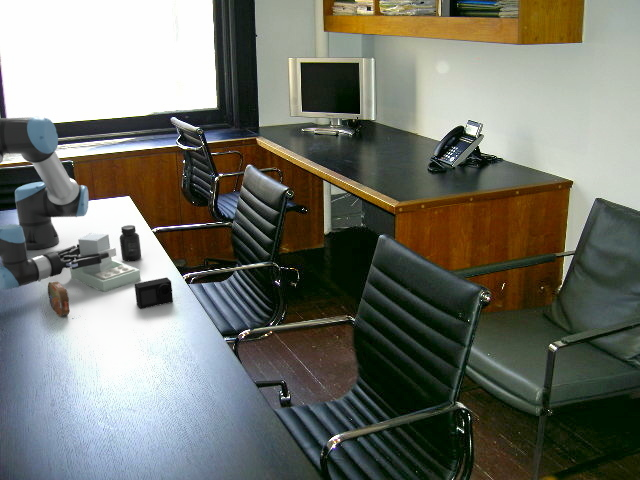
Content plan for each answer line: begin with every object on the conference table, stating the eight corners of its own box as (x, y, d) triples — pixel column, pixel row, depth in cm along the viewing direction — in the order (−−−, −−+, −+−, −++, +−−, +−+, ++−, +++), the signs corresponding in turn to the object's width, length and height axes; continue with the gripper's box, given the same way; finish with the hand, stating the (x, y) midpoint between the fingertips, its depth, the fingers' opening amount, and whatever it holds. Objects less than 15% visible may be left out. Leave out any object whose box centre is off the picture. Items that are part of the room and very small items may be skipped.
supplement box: (113, 269, 268) (109, 233, 264) (101, 276, 262) (96, 240, 258) (95, 267, 271) (90, 232, 267) (82, 274, 264) (77, 238, 260)
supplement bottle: (144, 255, 285) (140, 224, 281) (138, 262, 278) (134, 230, 275) (125, 255, 286) (122, 224, 282) (119, 262, 279) (115, 229, 275)
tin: (48, 304, 244) (44, 279, 241) (58, 302, 246) (55, 276, 243) (62, 320, 232) (58, 294, 229) (72, 318, 234) (69, 291, 231)
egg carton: (96, 283, 258) (94, 271, 256) (124, 274, 265) (123, 262, 264) (106, 288, 254) (104, 275, 253) (134, 278, 261) (133, 266, 260)
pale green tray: (71, 277, 265) (70, 267, 264) (107, 266, 275) (106, 257, 274) (103, 292, 252) (102, 281, 251) (140, 279, 262) (139, 269, 261)
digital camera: (141, 310, 238) (139, 289, 235) (136, 304, 242) (134, 283, 240) (174, 303, 242) (172, 282, 240) (168, 297, 247) (167, 276, 244)
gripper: (30, 269, 260) (90, 252, 275) (65, 285, 246) (126, 265, 261) (27, 248, 258) (88, 231, 273) (62, 262, 243) (124, 244, 259)
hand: (107, 248), depth 267 cm, fingers closed on supplement box, 9 cm apart
